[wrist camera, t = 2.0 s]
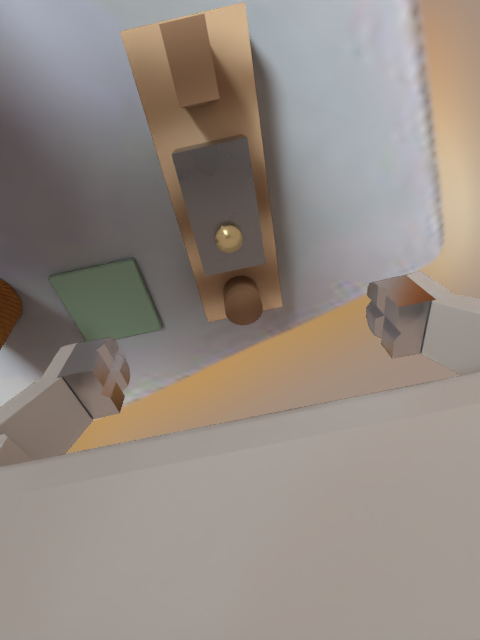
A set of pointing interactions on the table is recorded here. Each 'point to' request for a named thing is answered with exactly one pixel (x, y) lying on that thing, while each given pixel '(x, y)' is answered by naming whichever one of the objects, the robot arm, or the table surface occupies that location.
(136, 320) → the felt pad
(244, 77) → the plane body
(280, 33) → the table surface
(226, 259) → the lever cap
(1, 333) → the disposable coffee cup
